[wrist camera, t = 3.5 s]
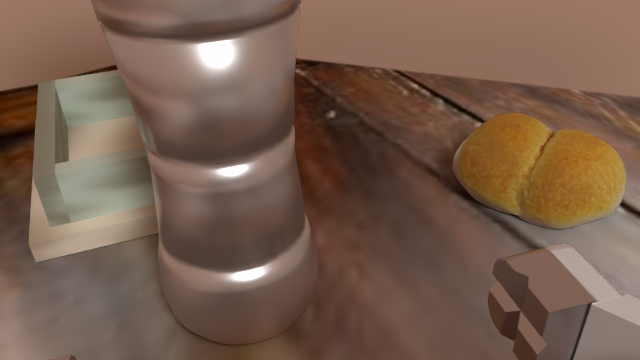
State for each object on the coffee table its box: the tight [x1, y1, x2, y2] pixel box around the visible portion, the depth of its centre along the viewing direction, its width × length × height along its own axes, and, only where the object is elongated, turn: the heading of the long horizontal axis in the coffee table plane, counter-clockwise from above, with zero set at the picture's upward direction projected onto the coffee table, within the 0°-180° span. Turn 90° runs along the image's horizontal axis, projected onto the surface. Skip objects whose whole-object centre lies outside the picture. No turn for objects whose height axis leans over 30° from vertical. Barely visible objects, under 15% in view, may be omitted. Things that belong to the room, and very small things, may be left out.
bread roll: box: [452, 113, 627, 229], centre depth 33 cm, size 8×9×4 cm
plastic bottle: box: [91, 0, 318, 345], centre depth 21 cm, size 6×7×20 cm
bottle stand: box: [29, 70, 159, 262], centre depth 36 cm, size 14×14×4 cm
